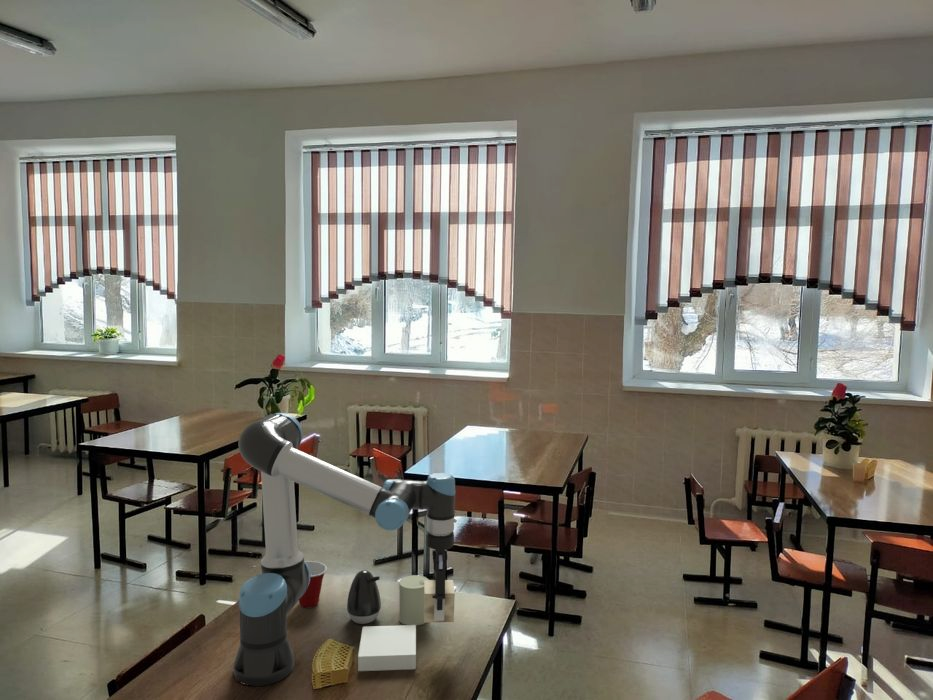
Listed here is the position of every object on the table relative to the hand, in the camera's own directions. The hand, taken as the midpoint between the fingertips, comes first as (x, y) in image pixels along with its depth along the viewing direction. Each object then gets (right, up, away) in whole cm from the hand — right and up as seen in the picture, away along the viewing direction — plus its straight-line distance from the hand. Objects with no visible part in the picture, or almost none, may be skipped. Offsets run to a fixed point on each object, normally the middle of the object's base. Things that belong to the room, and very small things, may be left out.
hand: (438, 611), depth 174 cm
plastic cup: (-42, -9, +28) cm, 51 cm away
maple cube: (0, -1, 0) cm, 1 cm away
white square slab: (-14, -12, 0) cm, 18 cm away
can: (-8, -10, +19) cm, 23 cm away
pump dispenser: (-23, -10, +18) cm, 31 cm away
